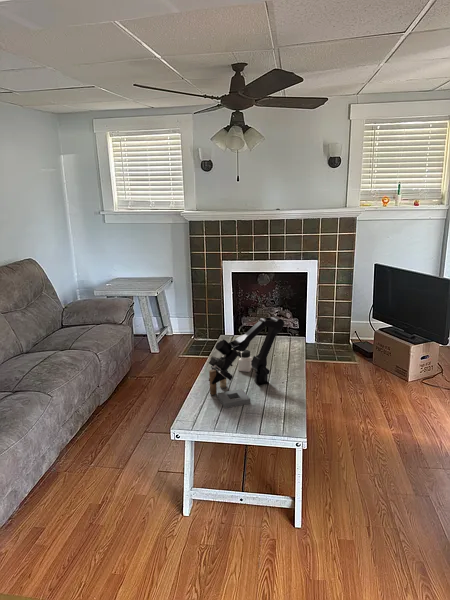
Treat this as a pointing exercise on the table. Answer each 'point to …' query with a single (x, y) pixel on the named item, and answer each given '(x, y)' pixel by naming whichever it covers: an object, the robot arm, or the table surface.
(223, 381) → the short beech pin
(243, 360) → the medicine bottle
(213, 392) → the walnut pin
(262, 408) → the table surface
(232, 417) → the table surface
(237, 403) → the slate hole plate
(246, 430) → the table surface
